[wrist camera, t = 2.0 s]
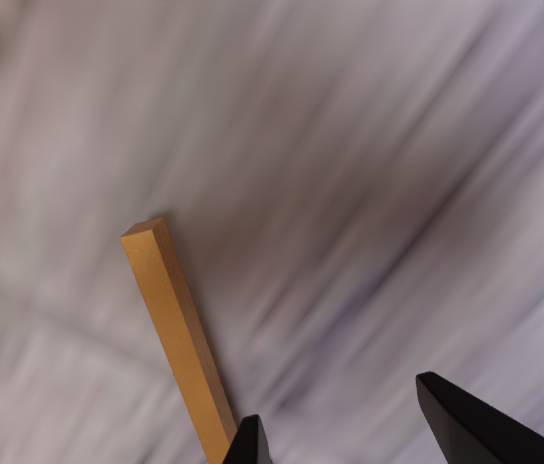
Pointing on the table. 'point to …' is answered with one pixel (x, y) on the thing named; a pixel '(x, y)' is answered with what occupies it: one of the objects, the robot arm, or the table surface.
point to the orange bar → (180, 334)
